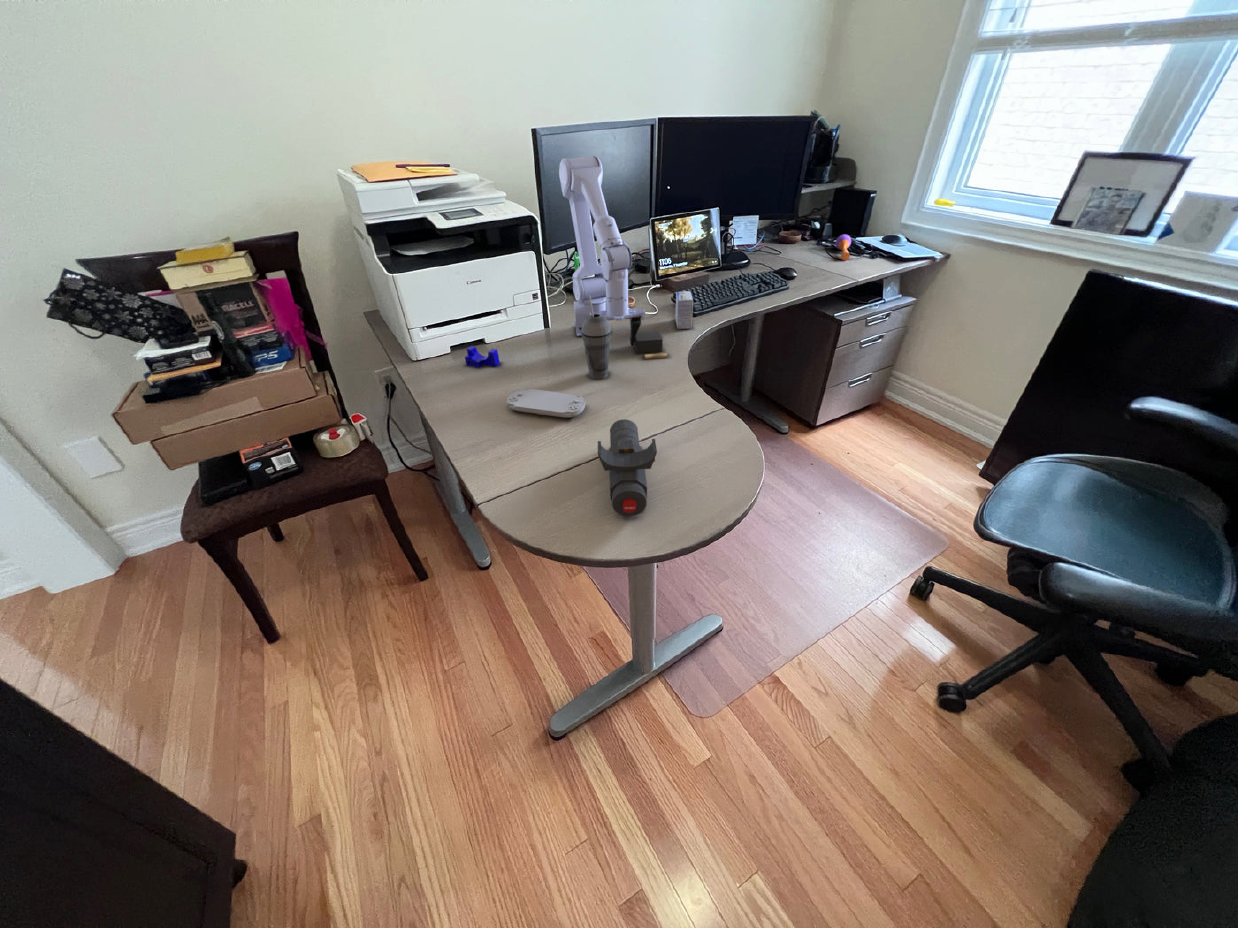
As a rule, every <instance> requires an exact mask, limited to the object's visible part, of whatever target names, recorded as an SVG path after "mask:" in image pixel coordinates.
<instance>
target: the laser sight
mask: <svg viewBox="0 0 1238 928" xmlns="http://www.w3.org/2000/svg"><path fill="white" fill-rule="evenodd" d="M639 438H640V437H639V428H638V426H637V424H636V422H634V421H632V420H630V419H626V418H625V419H618V420H617V421H614V422H613V424H611V426H610V428H609V442H610V447H609V448H608V449H606V448H605V447H604V446H603V445H602V440H598V441H597V456H598V458H599V461H600V464H601V465H602V468H603V470H604V471H606V472H607V471H608V472H609V495H610V496H609V497H610V501H611V507H612V509H613V511H614V512H615V513H616V514H618V515H620V516H623V517H634V516H637V515H639V514H641V513H643V511H645V510H646V508H647V505H648V485H647V476H646V470H651V469H652V467H653V464H654V463H655V462H656V456H657V453H658V449H657V443H656V438H651V444H650V445H649V446H647V447H646V448H645V449H643V447H642V446H641V445H640V439H639Z"/></svg>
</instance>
